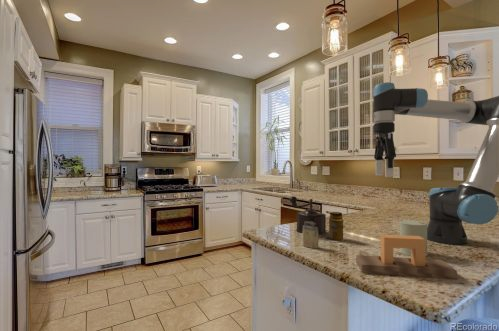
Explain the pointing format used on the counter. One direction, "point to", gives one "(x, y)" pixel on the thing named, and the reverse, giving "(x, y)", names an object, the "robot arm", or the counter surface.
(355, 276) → the counter surface
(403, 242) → the orange block
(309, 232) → the lighter
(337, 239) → the condiment
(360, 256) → the rail
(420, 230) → the can
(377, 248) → the counter surface
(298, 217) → the manual coffee grinder
